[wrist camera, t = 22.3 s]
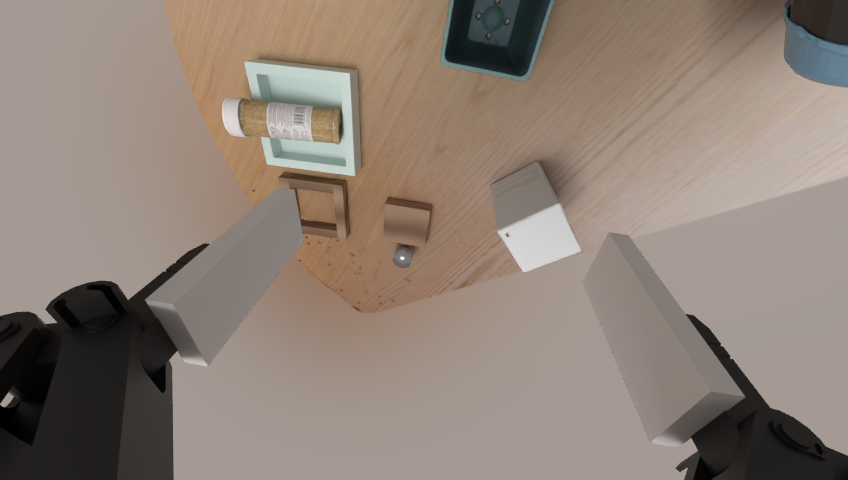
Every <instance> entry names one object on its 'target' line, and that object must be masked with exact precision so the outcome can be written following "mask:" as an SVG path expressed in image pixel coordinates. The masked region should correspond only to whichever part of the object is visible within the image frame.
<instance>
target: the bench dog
mask: <svg viewBox="0 0 848 480" xmlns="http://www.w3.org/2000/svg"><path fill="white" fill-rule="evenodd" d="M414 249H415V246H413V245H407V244H401V243H398V245H397V248H396V251H395V254H394V257H393V262H394V264H395V265H396V266H398V267H400V268H406V267H408V266H409V265H410V264H411V260H412V257H413V253H414Z"/></svg>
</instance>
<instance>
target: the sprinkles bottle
mask: <svg viewBox="0 0 848 480" xmlns="http://www.w3.org/2000/svg"><path fill="white" fill-rule="evenodd" d="M222 116H223V122H224V125H225V127H226V129H227V131H228V132H229V133H230V134H231V135H233V136H240V137H248V136H249V137H251V136H257V137H269V138H275V139H286V140H298V141H308V142H325V143H335V144H337V145H339V144H340V142H341V139H342V113H341V111H340V109H339V108H336V109H329V108H320V107H312V106H304V105H295V104H286V103H277V102H263V101H251V100H248V99H244V98H240V97H227V98H226V99H225V100H224V102H223V106H222Z"/></svg>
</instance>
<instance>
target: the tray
mask: <svg viewBox="0 0 848 480" xmlns="http://www.w3.org/2000/svg"><path fill="white" fill-rule="evenodd" d="M244 63H245V68H246V72H247V77H248V81H249V86H250V90H251V95H252V99H253V101H263V102H277V103H286V104H295V105H304V106H312V107H320V108H329V109H336V108H339V109H340V111H341V113H342V139H341V142H340V144H339V145H337V144H335V143H325V142H308V141H298V140H286V139H275V138H269V137H261V139H262V144H263V148H264V153H265V157H266V162H267V164H268V165H276V166H283V167H291V168H298V169H306V170H314V171H321V172H329V173H336V174H344V175H351V176H355V175H356V174H357V173H358V171H359V170H360V169H361V145H360V119H359V92H358V70H353V69H344V68H336V67H327V66H318V65H309V64H300V63H291V62H282V61H274V60H265V59H255V60H249V61H244Z"/></svg>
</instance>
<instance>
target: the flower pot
mask: <svg viewBox="0 0 848 480" xmlns="http://www.w3.org/2000/svg"><path fill="white" fill-rule="evenodd" d="M554 2H555V0H500V1H499V3H495V0H450V2H449V8H448V15H447V21H446V27H445V33H444V39H443V45H442V49H441V55H440V63H441V64H442V65H443V66H446V67H450V68H456V69H461V70H467V71H472V72H477V73H482V74H487V75H492V76H497V77H502V78H507V79H511V80H516V81H521V82H526V81H528V80H529V78H530V76H531V74H532V71H533V67H534V64H535V61H536V58H537V54H538V51H539V48H540V45H541V41H542V38H543V35H544V32H545V29H546V26H547V23H548V20H549V17H550V14H551V11H552V8H553V5H554ZM477 13H480V14H481V17H480V18H479V19H478V18H477V17H476V15H477ZM507 18H508V19H510V23H509V24H505V20H506V19H507ZM488 33H491V38H487V34H488Z"/></svg>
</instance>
